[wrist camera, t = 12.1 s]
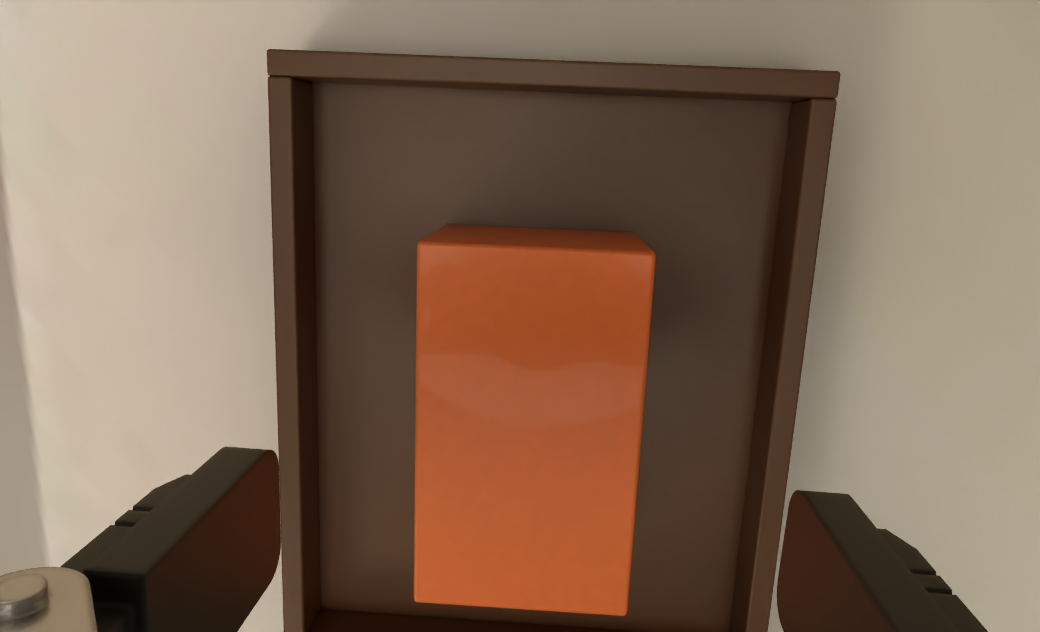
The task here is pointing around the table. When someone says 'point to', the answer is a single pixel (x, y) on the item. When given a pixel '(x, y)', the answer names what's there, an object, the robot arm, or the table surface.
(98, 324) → the table surface
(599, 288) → the block
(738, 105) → the tray
